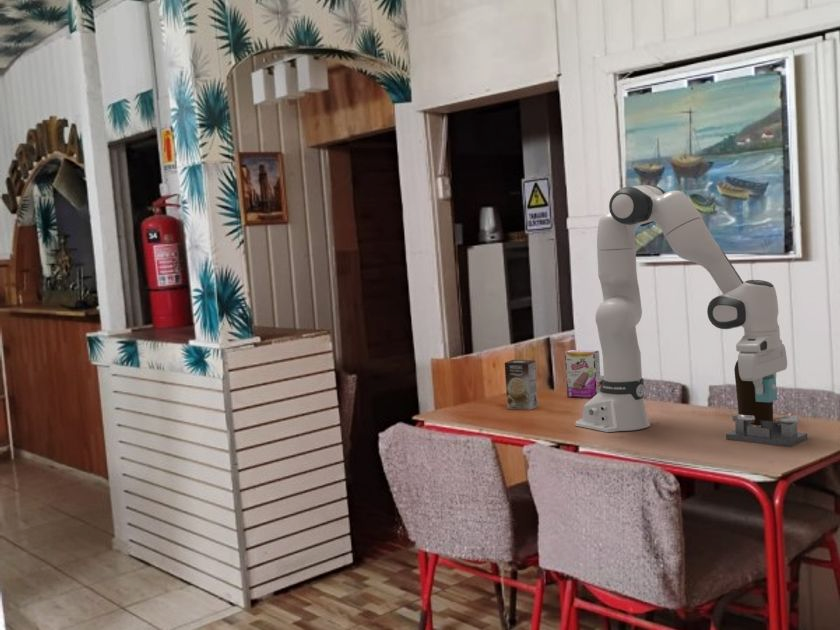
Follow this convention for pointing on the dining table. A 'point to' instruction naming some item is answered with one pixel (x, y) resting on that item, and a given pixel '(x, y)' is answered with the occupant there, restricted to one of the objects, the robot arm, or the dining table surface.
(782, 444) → the shaft rig
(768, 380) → the coupler
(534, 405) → the coffee box
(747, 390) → the olive oil
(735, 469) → the dining table surface
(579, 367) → the candy bar box
